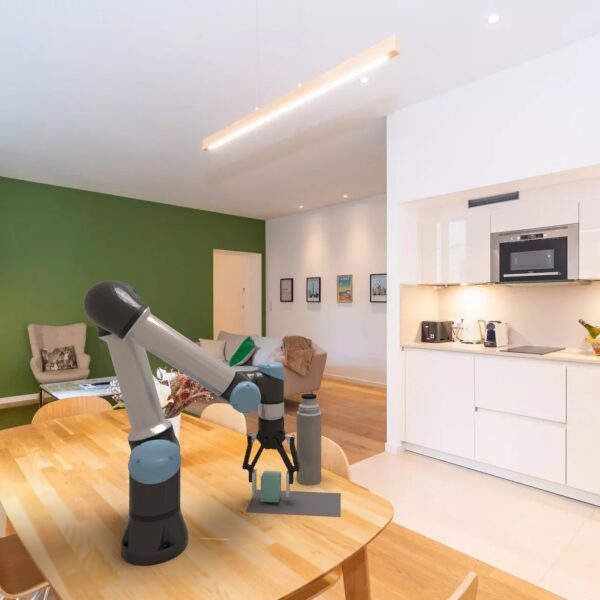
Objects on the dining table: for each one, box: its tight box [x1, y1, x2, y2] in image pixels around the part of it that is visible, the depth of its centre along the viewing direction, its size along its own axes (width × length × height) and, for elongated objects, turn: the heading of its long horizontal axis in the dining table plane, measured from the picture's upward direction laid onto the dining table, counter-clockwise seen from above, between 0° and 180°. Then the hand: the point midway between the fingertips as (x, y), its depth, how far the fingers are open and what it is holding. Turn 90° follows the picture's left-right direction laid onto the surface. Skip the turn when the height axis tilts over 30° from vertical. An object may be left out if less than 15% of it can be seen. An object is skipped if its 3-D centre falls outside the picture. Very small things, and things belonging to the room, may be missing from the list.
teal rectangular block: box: [260, 470, 282, 502], centre depth 124 cm, size 5×5×7 cm
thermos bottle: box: [296, 393, 322, 487], centre depth 138 cm, size 8×8×28 cm
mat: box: [245, 489, 342, 518], centre depth 123 cm, size 14×26×1 cm, turn 85°
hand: (271, 493), depth 124 cm, fingers open, 9 cm apart
